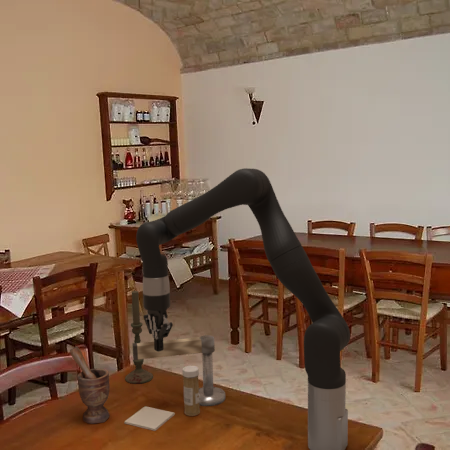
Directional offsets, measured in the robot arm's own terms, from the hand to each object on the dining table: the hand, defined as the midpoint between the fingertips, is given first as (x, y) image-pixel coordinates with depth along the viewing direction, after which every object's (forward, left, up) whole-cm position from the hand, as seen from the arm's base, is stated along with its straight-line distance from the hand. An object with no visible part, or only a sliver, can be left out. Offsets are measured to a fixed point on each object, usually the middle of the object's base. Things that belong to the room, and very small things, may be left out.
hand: (158, 350), depth 164 cm
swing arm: (-2, -5, -3) cm, 6 cm away
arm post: (-9, -11, -18) cm, 23 cm away
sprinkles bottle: (-9, -1, -18) cm, 20 cm away
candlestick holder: (+19, -15, -18) cm, 30 cm away
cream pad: (0, +7, -18) cm, 19 cm away
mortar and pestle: (+16, +13, -18) cm, 27 cm away
